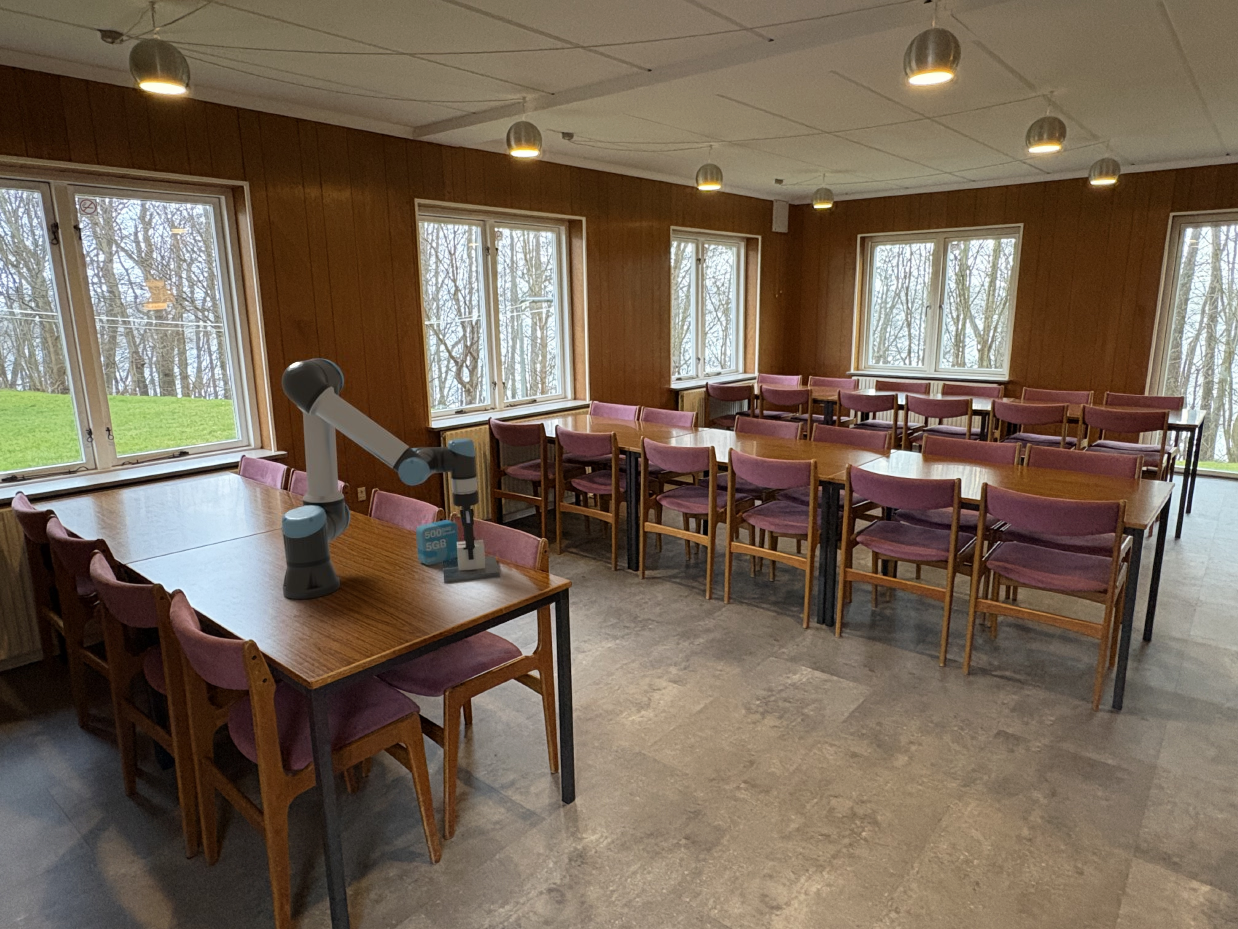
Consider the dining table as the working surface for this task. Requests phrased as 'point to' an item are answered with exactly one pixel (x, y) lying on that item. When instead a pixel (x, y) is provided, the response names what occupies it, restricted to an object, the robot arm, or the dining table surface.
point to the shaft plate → (470, 571)
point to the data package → (437, 542)
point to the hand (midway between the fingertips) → (471, 565)
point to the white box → (478, 555)
